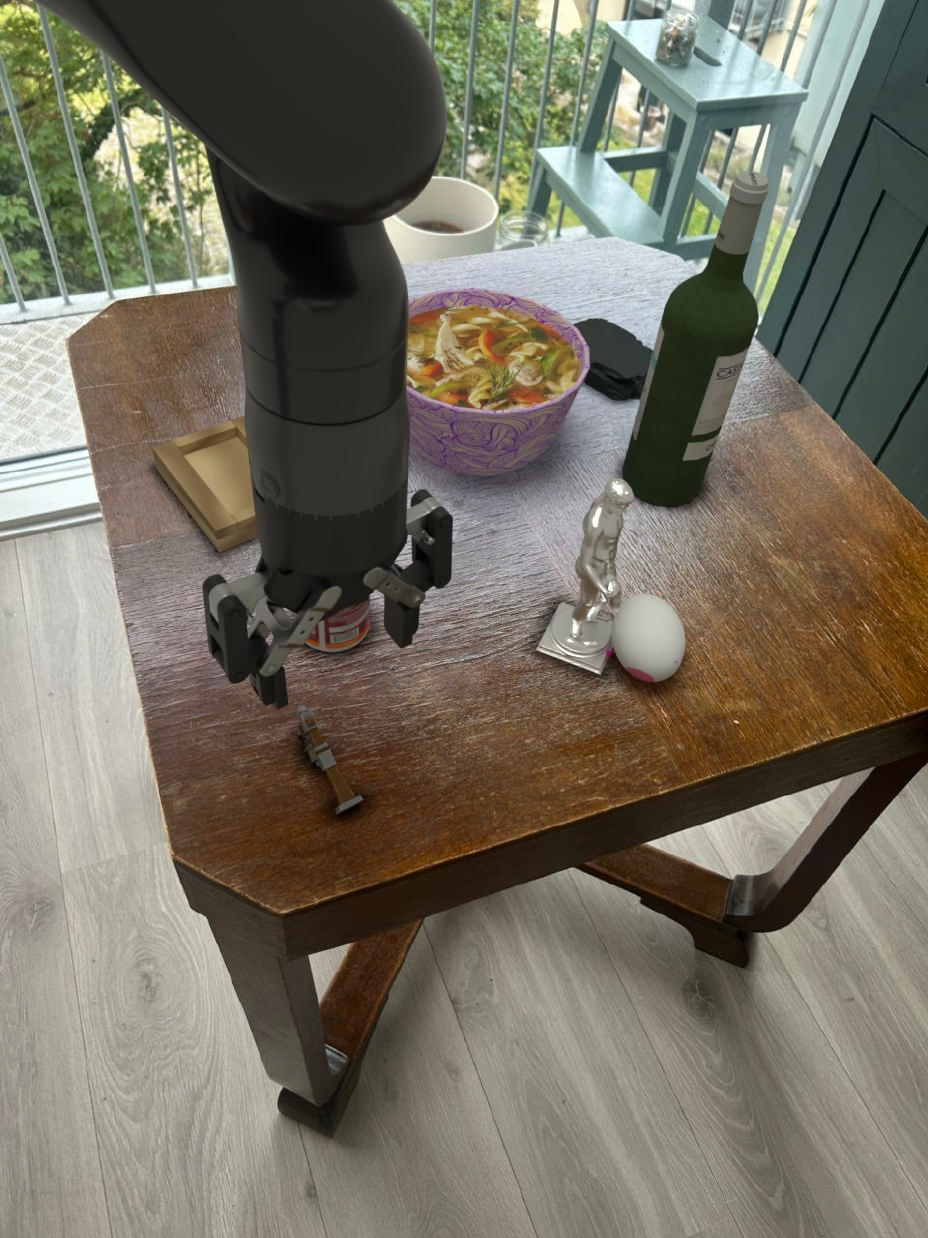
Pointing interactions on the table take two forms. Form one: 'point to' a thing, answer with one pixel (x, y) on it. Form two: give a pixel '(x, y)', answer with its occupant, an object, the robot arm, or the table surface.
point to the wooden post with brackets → (325, 759)
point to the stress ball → (648, 638)
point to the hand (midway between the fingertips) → (337, 667)
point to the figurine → (592, 586)
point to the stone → (614, 358)
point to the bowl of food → (489, 378)
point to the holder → (213, 481)
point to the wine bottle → (697, 360)
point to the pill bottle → (341, 629)
